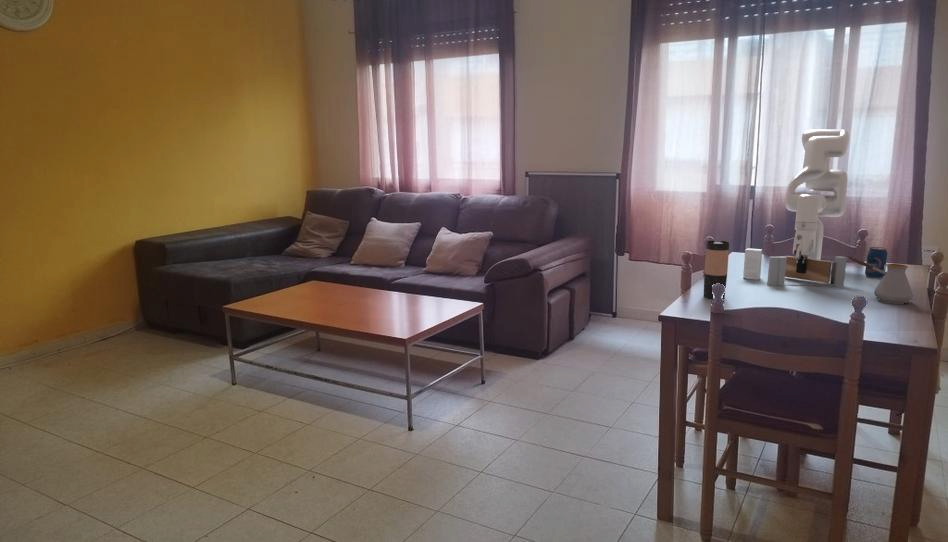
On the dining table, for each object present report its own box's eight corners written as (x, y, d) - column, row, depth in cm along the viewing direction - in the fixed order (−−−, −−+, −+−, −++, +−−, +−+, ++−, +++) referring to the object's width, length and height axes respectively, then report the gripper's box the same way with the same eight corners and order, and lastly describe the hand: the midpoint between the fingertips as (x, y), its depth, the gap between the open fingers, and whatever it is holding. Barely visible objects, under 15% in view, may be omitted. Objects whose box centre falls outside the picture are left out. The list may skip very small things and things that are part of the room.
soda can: (861, 276, 265) (865, 247, 262) (868, 274, 269) (871, 246, 267) (880, 279, 259) (884, 250, 257) (886, 277, 264) (890, 248, 262)
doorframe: (766, 284, 252) (768, 256, 250) (839, 284, 252) (842, 256, 249) (769, 285, 249) (772, 257, 247) (843, 285, 249) (847, 257, 246)
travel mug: (714, 300, 227) (718, 244, 223) (698, 296, 233) (701, 241, 229) (730, 298, 230) (734, 242, 226) (713, 293, 237) (717, 239, 233)
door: (784, 276, 264) (786, 255, 262) (834, 283, 250) (836, 262, 248) (782, 276, 263) (784, 256, 261) (832, 284, 249) (835, 262, 247)
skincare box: (760, 278, 263) (763, 249, 260) (758, 280, 259) (761, 250, 257) (744, 276, 266) (746, 247, 263) (742, 278, 262) (744, 249, 260)
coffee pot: (907, 299, 228) (913, 257, 225) (915, 307, 217) (921, 263, 214) (839, 294, 236) (843, 253, 233) (843, 301, 225) (848, 259, 222)
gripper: (807, 228, 243) (802, 276, 247) (823, 226, 253) (818, 272, 256) (787, 226, 249) (782, 273, 252) (803, 224, 259) (799, 269, 262)
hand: (800, 272), depth 254 cm, fingers closed
